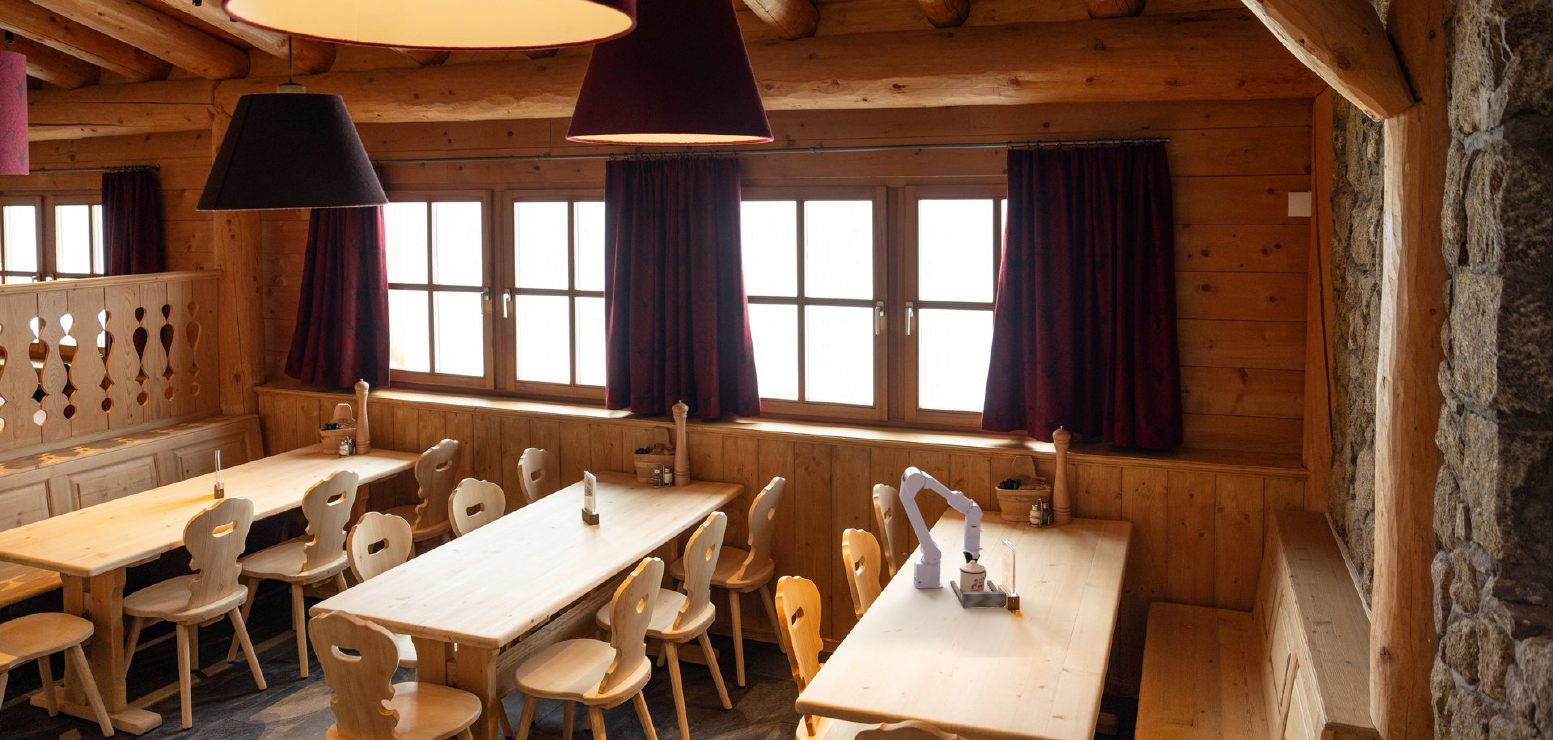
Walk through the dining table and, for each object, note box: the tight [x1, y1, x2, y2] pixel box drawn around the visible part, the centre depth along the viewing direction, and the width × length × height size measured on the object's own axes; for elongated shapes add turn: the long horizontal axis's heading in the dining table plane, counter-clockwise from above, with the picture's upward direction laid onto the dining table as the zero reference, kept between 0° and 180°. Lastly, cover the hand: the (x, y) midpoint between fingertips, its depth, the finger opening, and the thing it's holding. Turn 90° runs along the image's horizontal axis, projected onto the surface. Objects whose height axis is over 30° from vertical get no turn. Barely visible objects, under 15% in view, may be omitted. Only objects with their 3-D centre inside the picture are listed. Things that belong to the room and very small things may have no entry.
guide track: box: [949, 579, 1007, 609], centre depth 423 cm, size 15×24×5 cm, turn 2°
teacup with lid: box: [959, 560, 988, 593], centre depth 427 cm, size 12×9×12 cm
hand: (970, 571), depth 434 cm, fingers closed
